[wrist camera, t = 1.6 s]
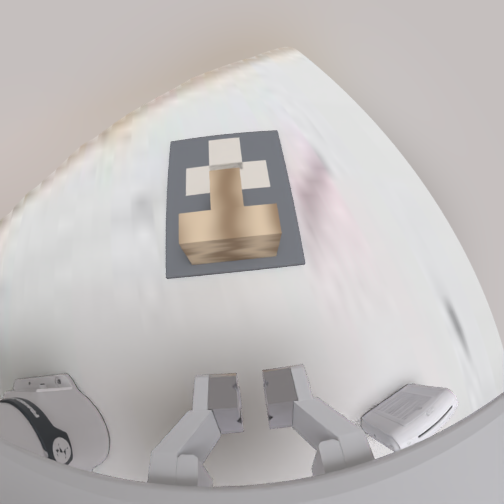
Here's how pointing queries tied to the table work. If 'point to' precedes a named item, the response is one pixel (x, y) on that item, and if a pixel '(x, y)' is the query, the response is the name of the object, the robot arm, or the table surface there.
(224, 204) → the maple T-block
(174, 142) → the slate mat
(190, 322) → the table surface
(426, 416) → the photo printer
